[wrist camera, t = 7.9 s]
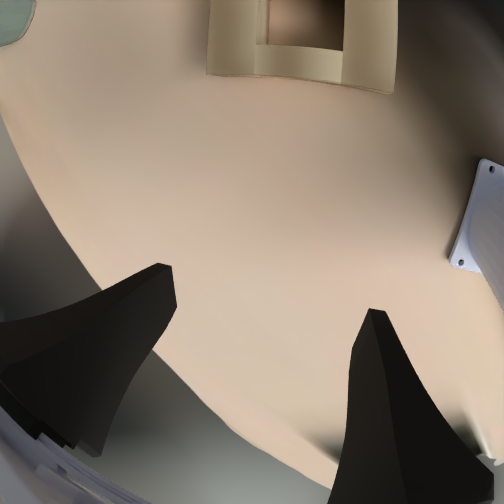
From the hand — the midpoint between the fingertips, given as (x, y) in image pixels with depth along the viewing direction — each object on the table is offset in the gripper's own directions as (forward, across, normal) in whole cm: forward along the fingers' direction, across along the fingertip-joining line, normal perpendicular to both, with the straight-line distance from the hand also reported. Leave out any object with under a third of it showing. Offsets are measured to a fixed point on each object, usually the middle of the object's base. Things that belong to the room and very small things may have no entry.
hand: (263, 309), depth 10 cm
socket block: (+10, +1, -16) cm, 19 cm away
